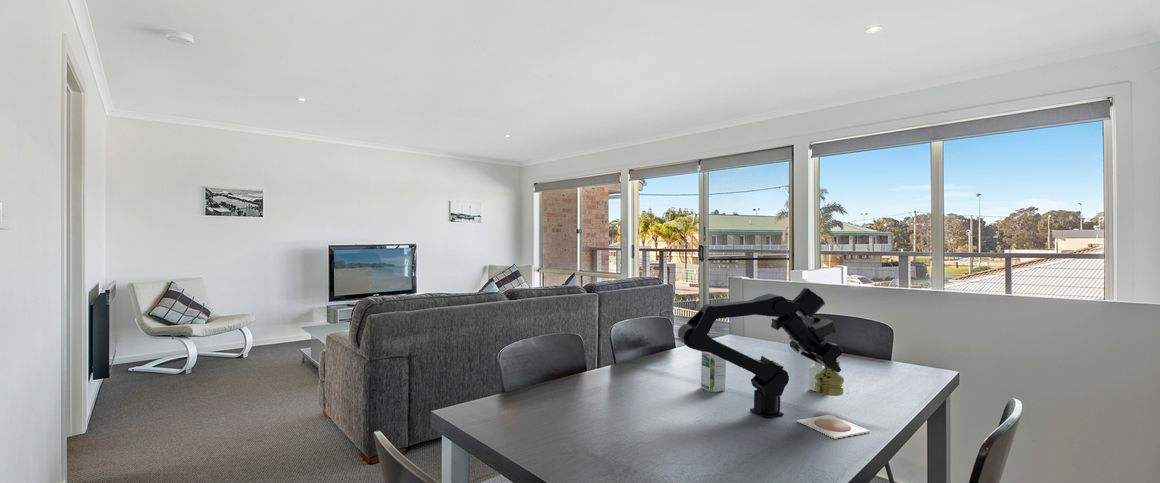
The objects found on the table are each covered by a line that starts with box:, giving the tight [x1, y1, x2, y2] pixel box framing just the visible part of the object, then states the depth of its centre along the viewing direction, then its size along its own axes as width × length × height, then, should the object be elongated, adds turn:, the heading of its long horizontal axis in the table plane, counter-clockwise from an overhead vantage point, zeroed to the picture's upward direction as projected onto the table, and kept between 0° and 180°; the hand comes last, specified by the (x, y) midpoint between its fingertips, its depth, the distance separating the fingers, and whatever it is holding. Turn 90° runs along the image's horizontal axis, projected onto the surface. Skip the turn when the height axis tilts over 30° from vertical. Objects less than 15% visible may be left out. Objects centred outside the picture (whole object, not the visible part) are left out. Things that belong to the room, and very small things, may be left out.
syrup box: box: [700, 351, 727, 393], centre depth 160 cm, size 6×6×14 cm
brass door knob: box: [815, 358, 845, 397], centre depth 140 cm, size 7×7×10 cm
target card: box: [796, 414, 871, 440], centre depth 129 cm, size 12×12×1 cm
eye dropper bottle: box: [808, 361, 824, 393], centre depth 159 cm, size 4×6×12 cm
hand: (834, 368), depth 140 cm, fingers closed on brass door knob, 5 cm apart
